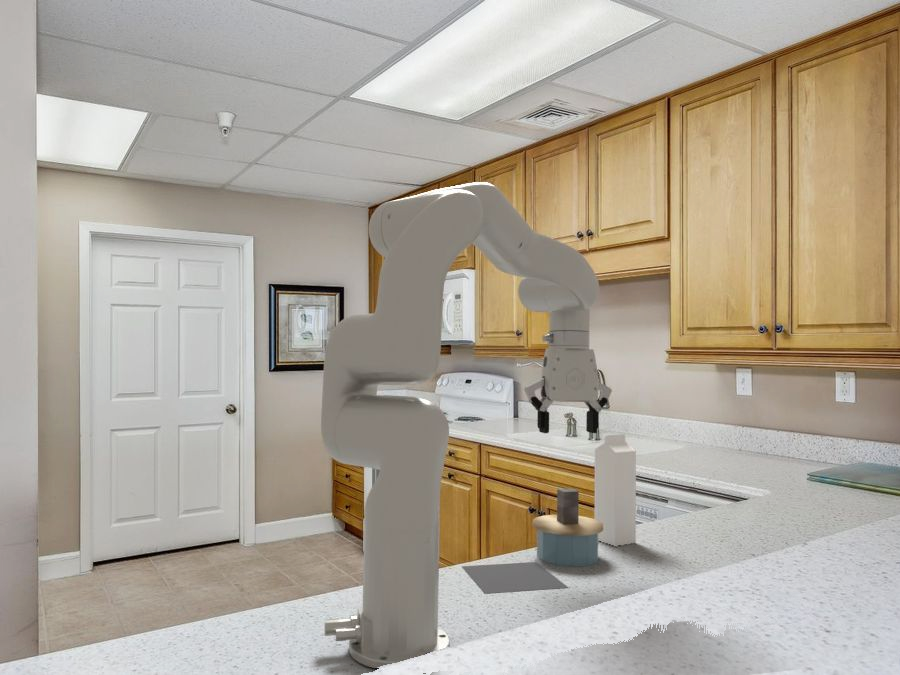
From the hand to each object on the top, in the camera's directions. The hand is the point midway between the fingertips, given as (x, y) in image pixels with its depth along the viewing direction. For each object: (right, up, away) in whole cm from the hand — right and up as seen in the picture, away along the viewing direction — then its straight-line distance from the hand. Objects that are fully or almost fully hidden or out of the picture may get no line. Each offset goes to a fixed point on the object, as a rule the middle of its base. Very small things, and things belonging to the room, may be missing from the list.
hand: (568, 432), depth 123 cm
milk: (+12, -25, +12) cm, 30 cm away
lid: (0, -18, -1) cm, 18 cm away
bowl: (0, -24, -1) cm, 24 cm away
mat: (-12, -23, -13) cm, 29 cm away
